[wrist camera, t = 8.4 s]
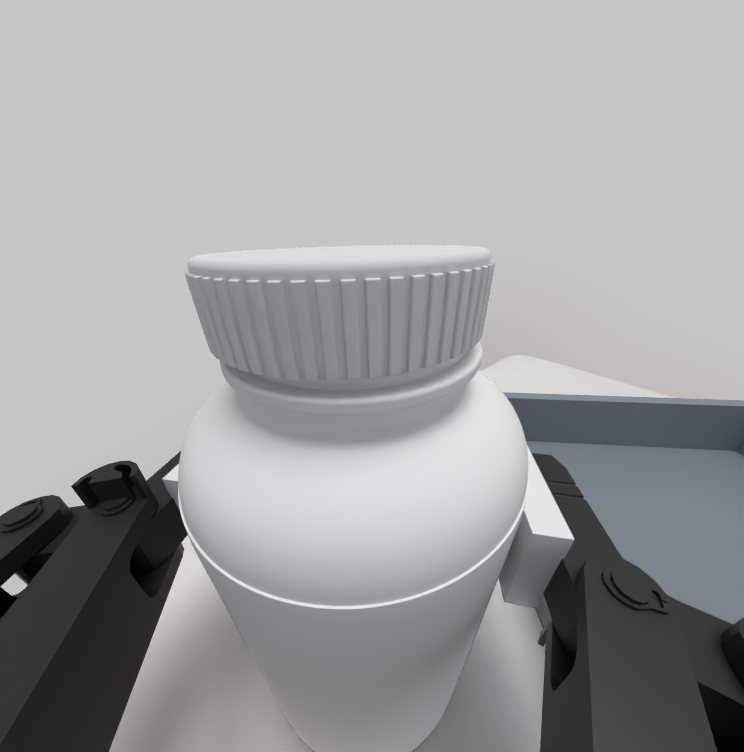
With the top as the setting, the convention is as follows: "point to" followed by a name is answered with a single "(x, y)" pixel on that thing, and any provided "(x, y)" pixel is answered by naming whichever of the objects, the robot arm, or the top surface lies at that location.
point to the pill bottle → (352, 478)
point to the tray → (655, 485)
